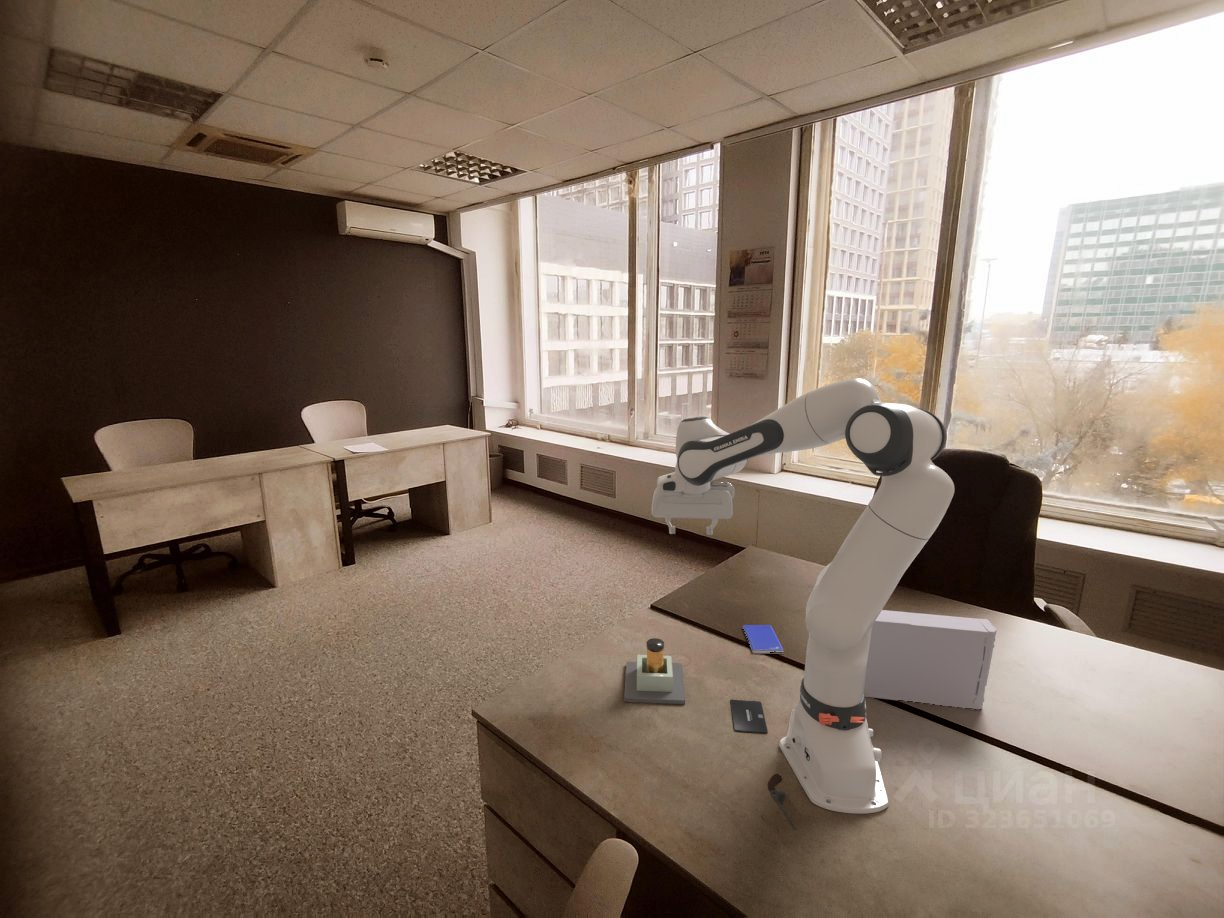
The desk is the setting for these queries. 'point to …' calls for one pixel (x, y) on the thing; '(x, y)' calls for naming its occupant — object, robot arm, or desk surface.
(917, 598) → the desk surface
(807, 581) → the desk surface
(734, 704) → the solid state drive
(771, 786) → the dark curved piece
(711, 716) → the desk surface
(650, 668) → the bottle
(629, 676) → the docking plate
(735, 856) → the desk surface
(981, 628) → the game console
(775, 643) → the hard drive
